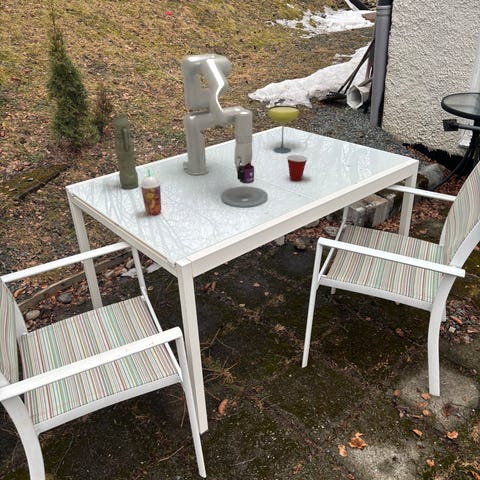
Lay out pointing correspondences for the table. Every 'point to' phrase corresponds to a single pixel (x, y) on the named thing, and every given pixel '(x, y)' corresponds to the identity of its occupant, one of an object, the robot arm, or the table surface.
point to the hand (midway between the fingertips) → (244, 176)
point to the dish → (244, 196)
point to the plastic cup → (296, 166)
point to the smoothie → (151, 194)
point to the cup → (248, 174)
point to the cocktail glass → (283, 120)
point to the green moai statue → (125, 153)
